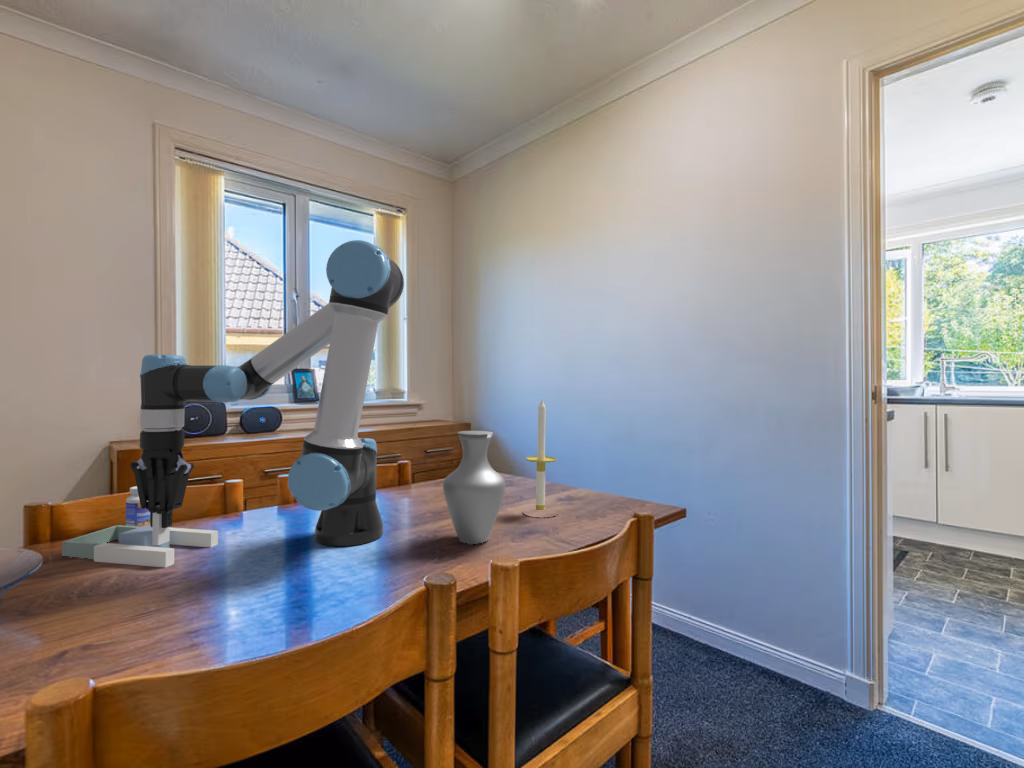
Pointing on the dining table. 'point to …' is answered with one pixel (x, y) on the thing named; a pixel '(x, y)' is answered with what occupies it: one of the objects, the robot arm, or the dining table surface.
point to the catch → (92, 541)
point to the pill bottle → (136, 510)
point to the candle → (541, 458)
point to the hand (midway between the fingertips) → (160, 542)
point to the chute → (154, 549)
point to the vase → (474, 490)
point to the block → (140, 537)
